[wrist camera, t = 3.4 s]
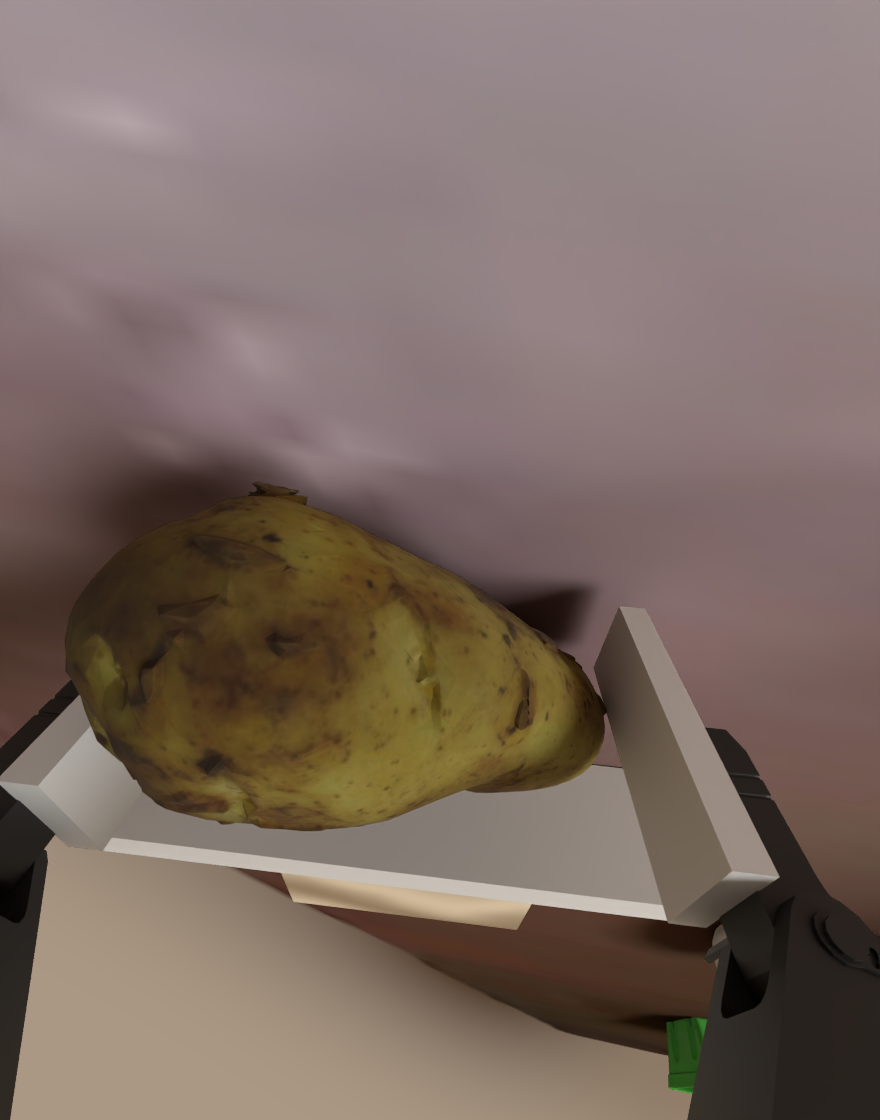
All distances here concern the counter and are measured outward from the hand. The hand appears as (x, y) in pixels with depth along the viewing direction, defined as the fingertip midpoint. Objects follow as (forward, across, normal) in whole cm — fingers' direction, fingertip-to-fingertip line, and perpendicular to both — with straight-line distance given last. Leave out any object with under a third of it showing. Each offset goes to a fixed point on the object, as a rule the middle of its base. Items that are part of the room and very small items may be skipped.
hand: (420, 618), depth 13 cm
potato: (+1, 0, 0) cm, 1 cm away
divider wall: (+1, 0, -10) cm, 10 cm away
